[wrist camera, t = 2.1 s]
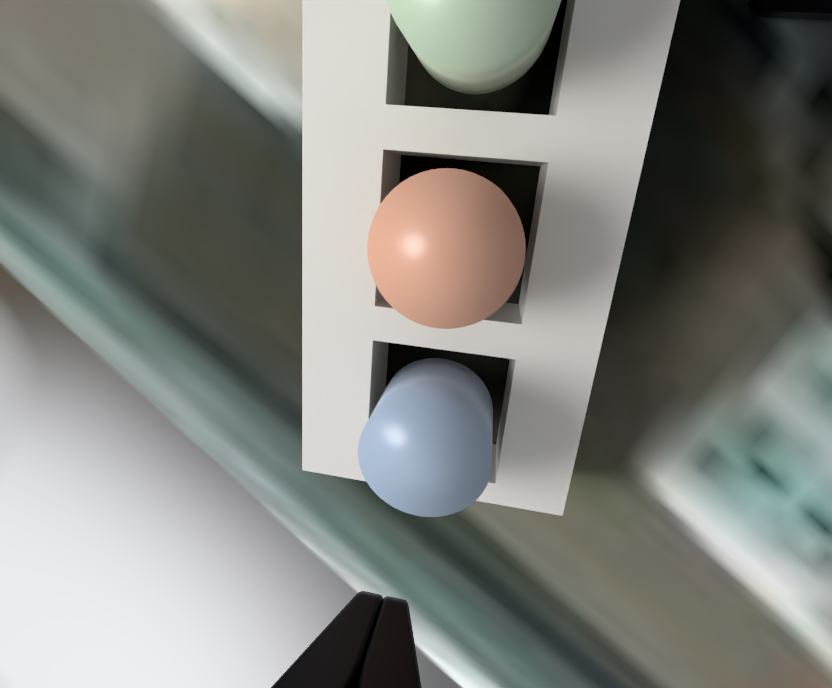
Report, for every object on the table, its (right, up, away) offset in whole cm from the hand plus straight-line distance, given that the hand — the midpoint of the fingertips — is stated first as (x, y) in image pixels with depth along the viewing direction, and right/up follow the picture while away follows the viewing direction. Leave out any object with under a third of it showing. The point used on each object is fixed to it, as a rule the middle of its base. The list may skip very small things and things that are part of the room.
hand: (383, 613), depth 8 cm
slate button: (+1, +2, +7) cm, 8 cm away
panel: (+2, +8, +8) cm, 11 cm away
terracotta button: (+2, +8, +5) cm, 9 cm away
